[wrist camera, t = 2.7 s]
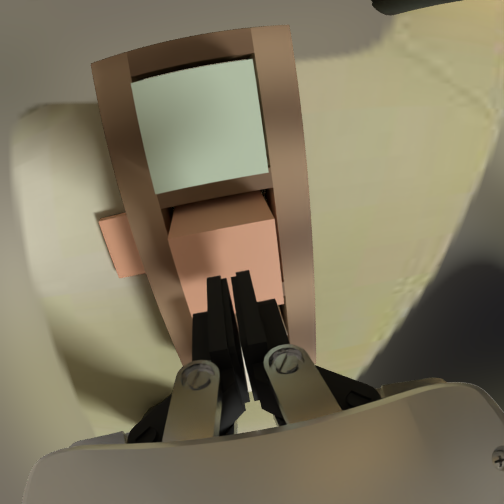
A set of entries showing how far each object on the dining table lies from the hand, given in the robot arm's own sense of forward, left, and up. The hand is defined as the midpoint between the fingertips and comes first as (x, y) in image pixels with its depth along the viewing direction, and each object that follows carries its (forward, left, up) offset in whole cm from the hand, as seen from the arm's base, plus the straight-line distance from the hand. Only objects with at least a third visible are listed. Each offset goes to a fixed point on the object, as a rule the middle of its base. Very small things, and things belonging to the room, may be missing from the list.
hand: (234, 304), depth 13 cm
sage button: (-7, 0, -6) cm, 9 cm away
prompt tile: (0, -6, -8) cm, 10 cm away
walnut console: (0, 0, -8) cm, 8 cm away
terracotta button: (0, 0, -6) cm, 6 cm away
